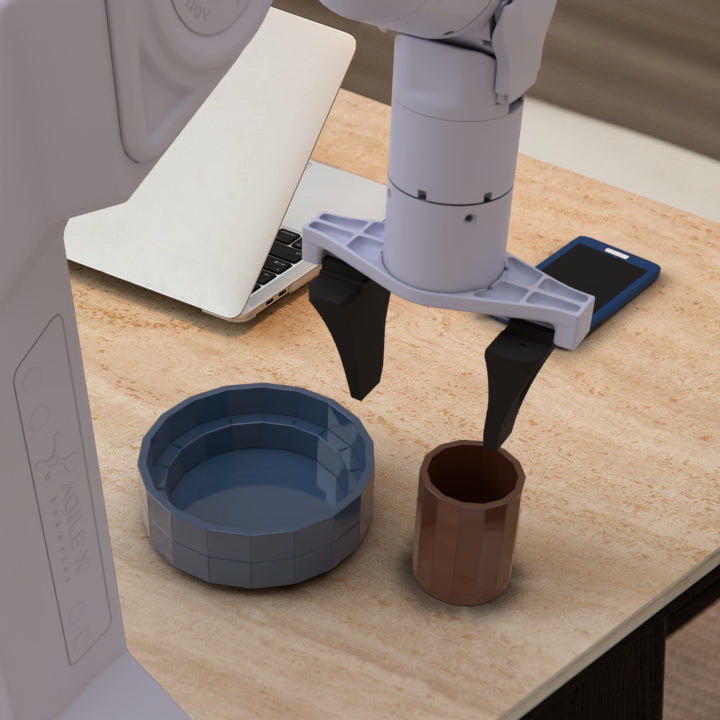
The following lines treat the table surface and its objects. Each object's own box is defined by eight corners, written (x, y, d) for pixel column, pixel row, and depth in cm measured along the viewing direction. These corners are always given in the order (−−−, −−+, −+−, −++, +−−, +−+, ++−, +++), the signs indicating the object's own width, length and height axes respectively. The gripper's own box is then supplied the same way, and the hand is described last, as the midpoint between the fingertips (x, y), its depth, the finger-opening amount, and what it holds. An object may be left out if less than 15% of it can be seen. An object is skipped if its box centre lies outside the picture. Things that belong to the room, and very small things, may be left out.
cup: (486, 620, 65) (500, 522, 61) (394, 581, 68) (401, 483, 63) (526, 557, 69) (541, 462, 65) (438, 522, 71) (447, 427, 67)
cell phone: (663, 274, 94) (665, 265, 94) (567, 352, 86) (568, 343, 85) (580, 240, 98) (581, 232, 98) (479, 312, 89) (480, 304, 89)
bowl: (296, 631, 64) (297, 569, 62) (95, 538, 69) (88, 477, 67) (411, 488, 74) (416, 429, 71) (226, 416, 79) (225, 358, 76)
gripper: (634, 183, 56) (591, 420, 64) (355, 107, 62) (347, 333, 69) (575, 250, 51) (536, 498, 59) (278, 160, 56) (278, 398, 64)
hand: (430, 414), depth 64 cm, fingers open, 7 cm apart
